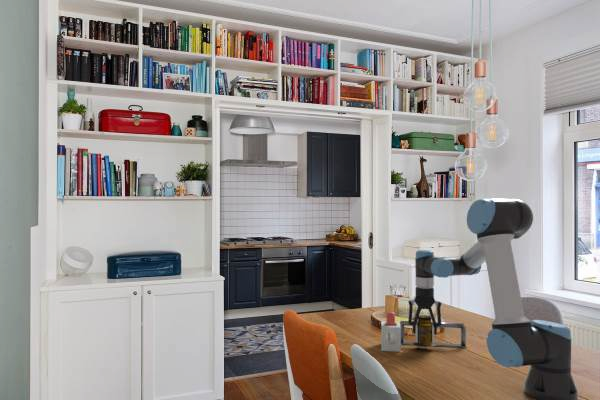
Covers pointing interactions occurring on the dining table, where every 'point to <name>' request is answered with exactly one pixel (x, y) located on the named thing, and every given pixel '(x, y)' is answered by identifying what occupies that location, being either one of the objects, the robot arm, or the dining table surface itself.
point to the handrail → (448, 325)
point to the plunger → (390, 318)
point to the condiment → (424, 332)
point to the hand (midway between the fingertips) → (424, 341)
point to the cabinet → (390, 337)
